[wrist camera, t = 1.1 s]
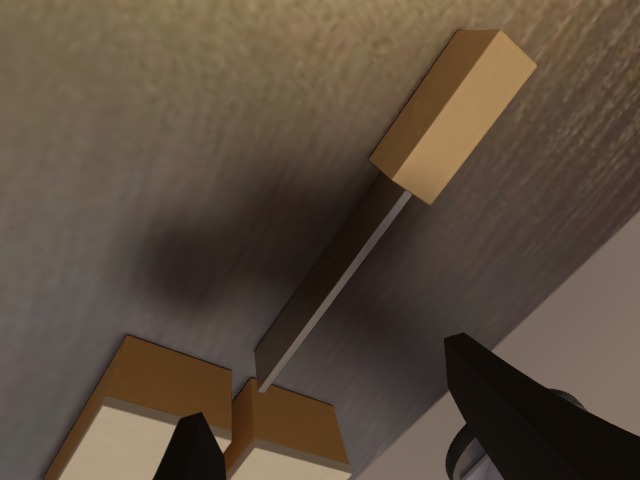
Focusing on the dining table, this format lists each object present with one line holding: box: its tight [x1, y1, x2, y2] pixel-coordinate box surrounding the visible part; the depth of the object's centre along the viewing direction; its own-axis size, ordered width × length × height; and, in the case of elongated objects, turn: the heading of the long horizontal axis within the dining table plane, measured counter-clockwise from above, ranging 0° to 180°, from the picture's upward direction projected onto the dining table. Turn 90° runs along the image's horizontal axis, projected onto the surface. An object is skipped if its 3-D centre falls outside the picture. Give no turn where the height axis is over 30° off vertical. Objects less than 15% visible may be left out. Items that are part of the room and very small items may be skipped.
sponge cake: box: [43, 335, 352, 480], centre depth 23 cm, size 13×12×5 cm
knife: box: [255, 29, 537, 393], centre depth 19 cm, size 18×2×3 cm, turn 146°
